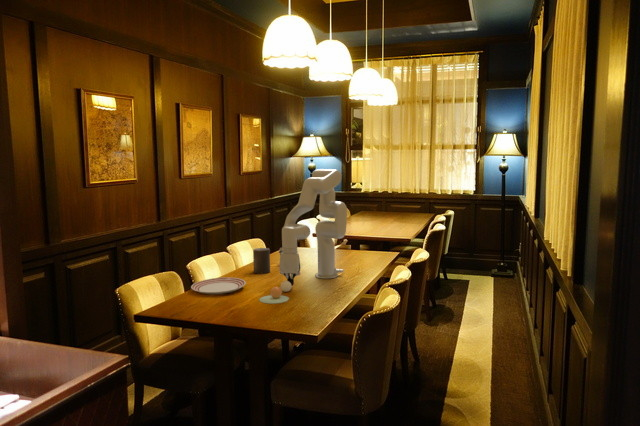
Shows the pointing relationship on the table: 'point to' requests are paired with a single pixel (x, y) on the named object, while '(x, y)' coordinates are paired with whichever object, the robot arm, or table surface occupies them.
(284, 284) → the cue ball
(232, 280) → the dinner plate
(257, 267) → the pillar candle
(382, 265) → the table surface
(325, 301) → the table surface
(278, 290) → the object ball
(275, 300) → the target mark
